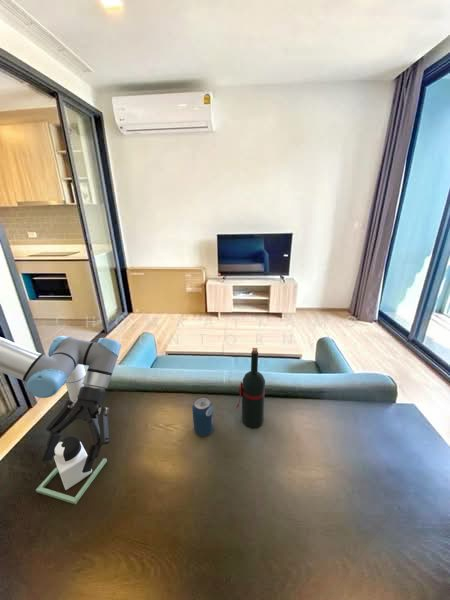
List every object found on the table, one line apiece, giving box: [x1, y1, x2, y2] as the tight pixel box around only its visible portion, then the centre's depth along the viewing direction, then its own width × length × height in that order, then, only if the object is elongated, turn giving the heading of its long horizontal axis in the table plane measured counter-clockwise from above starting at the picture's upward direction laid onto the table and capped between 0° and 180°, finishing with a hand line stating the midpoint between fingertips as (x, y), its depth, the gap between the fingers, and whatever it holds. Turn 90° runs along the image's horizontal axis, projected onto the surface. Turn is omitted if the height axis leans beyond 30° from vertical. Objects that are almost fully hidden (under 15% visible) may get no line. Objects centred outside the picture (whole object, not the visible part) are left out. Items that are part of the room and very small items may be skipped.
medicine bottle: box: [53, 435, 93, 491], centre depth 72 cm, size 7×7×12 cm
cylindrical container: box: [65, 364, 87, 402], centre depth 96 cm, size 7×7×25 cm
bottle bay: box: [35, 457, 108, 505], centre depth 73 cm, size 13×12×1 cm
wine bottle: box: [235, 347, 266, 430], centre depth 86 cm, size 8×10×30 cm
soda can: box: [191, 396, 214, 437], centre depth 86 cm, size 7×7×12 cm
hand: (66, 466), depth 70 cm, fingers open, 13 cm apart
